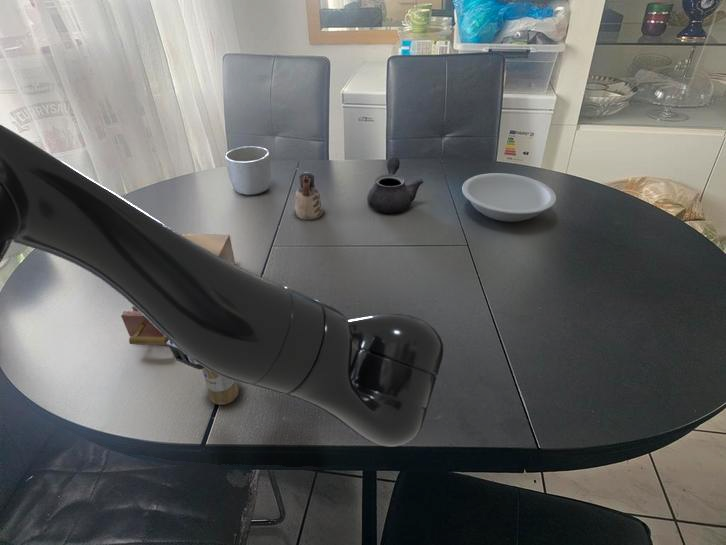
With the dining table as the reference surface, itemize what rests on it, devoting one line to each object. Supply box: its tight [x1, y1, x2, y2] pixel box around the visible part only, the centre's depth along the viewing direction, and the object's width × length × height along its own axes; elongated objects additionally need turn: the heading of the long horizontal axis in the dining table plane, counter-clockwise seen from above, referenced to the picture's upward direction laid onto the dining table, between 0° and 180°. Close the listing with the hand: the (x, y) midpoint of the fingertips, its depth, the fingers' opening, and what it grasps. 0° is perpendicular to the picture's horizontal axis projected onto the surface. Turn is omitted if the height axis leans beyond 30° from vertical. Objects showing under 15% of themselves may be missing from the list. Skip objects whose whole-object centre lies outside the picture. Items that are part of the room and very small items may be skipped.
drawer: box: [120, 305, 169, 346], centre depth 82 cm, size 18×11×6 cm, turn 178°
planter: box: [224, 146, 272, 196], centre depth 131 cm, size 12×12×11 cm
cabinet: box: [180, 233, 237, 266], centre depth 93 cm, size 15×13×8 cm
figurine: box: [294, 171, 323, 221], centre depth 118 cm, size 7×7×12 cm
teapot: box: [366, 156, 424, 213], centre depth 125 cm, size 19×15×10 cm
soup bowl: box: [461, 172, 557, 223], centre depth 120 cm, size 24×24×7 cm
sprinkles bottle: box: [201, 368, 239, 406], centre depth 68 cm, size 5×5×14 cm
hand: (203, 311), depth 59 cm, fingers open, 8 cm apart
